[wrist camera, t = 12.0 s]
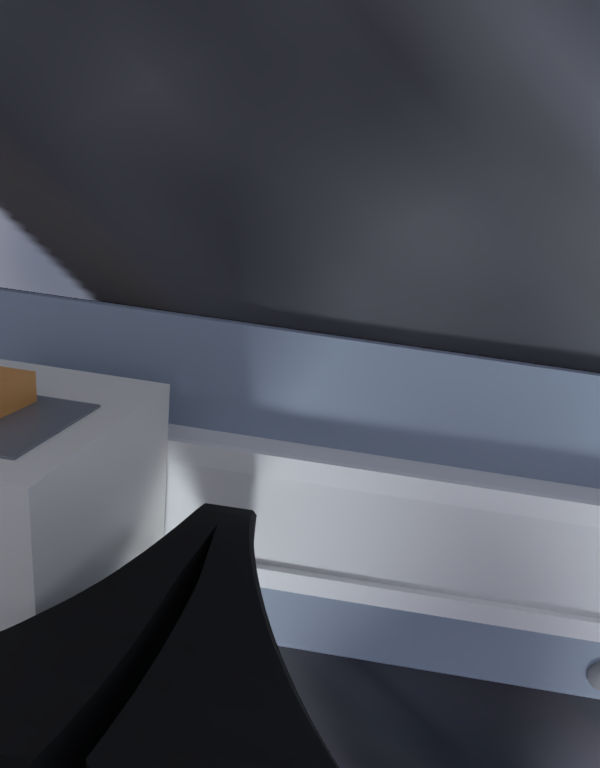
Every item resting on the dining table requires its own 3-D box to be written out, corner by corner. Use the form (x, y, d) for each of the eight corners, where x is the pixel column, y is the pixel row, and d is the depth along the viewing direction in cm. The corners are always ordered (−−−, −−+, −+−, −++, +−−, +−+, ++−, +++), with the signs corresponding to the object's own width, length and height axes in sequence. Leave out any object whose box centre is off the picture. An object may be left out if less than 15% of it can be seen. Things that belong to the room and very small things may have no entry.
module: (161, 588, 12) (46, 798, 7) (8, 561, 13) (-199, 749, 8) (171, 357, 10) (25, 443, 6) (-10, 331, 11) (-299, 392, 6)
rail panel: (617, 691, 14) (691, 804, 11) (-79, 576, 15) (-179, 653, 12) (750, 395, 11) (895, 442, 8) (-121, 270, 12) (-265, 274, 9)
